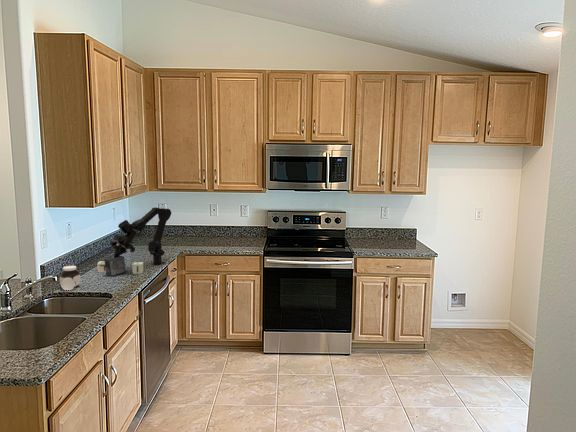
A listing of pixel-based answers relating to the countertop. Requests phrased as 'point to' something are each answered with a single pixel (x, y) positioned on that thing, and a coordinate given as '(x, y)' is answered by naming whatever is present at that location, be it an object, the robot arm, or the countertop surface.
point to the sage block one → (137, 267)
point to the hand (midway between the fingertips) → (114, 257)
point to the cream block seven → (101, 266)
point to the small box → (115, 266)
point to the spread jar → (70, 278)
